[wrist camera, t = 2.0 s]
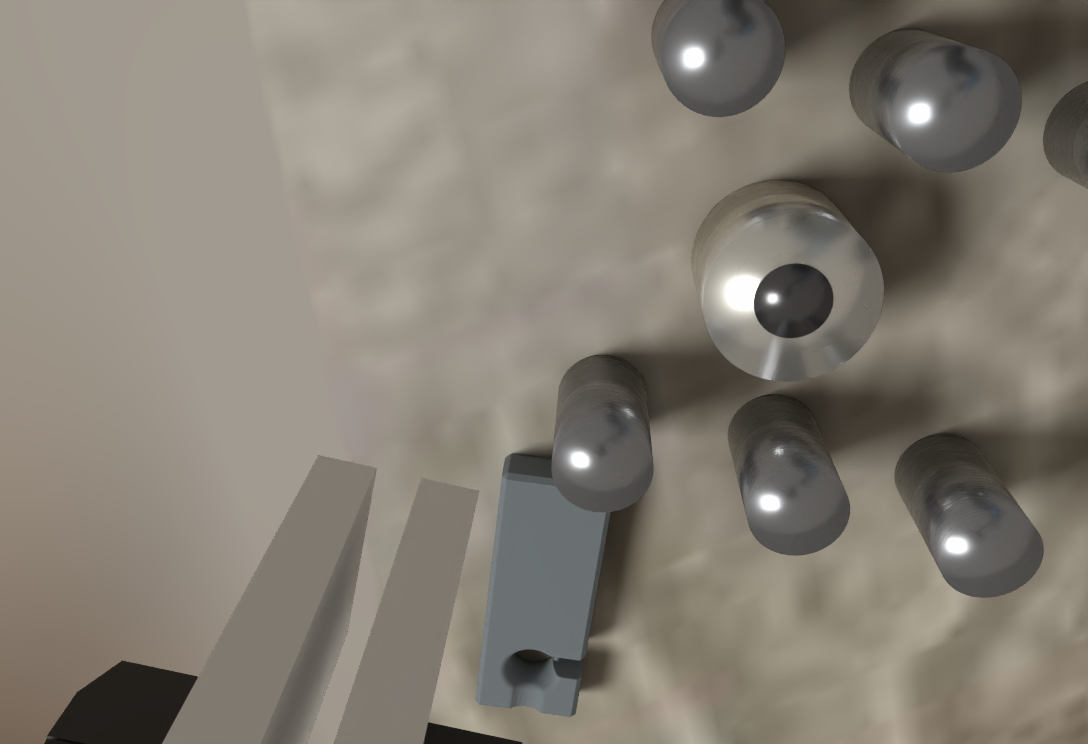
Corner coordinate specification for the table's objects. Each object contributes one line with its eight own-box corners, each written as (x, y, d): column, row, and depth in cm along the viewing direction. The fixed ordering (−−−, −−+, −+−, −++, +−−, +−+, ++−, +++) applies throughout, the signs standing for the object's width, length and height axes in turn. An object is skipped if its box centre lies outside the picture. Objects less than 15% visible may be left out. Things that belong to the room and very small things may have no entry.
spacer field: (667, -33, 28) (680, -26, 23) (1169, 91, 28) (1277, 122, 24) (550, 423, 34) (541, 500, 29) (963, 517, 34) (1018, 606, 30)
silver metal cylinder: (717, 162, 30) (734, 196, 26) (874, 200, 30) (912, 238, 26) (672, 311, 32) (682, 361, 28) (819, 345, 32) (848, 399, 28)
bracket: (615, 460, 35) (615, 489, 33) (577, 685, 39) (575, 721, 37) (506, 446, 35) (500, 473, 33) (480, 672, 39) (473, 707, 37)
